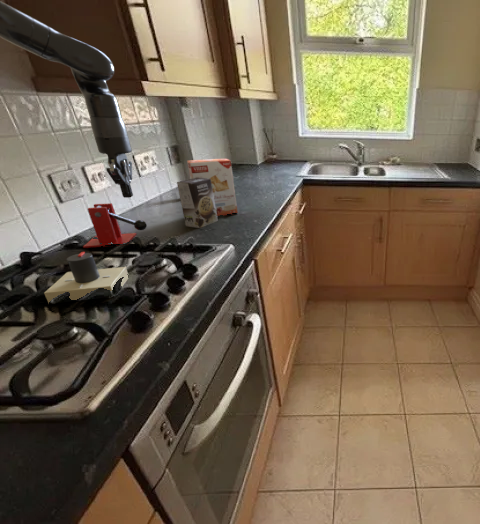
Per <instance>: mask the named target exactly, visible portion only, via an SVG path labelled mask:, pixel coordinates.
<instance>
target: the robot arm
mask: <svg viewBox="0 0 480 524" xmlns="http://www.w3.org/2000/svg"><path fill="white" fill-rule="evenodd" d="M0 38H1V39H3V40H4V41H7V42H8V43H11V44H12V45H14V46H16V47H19V48H21V49H23V50H25V51H27V52H29V53H32V54H33V55H35V56H37V57H40V58H42V59H45V60H47V61H49V62H54V63H59V64H62V65H64V66H67V67H69V68H70V70H71V73H72V76H73V78H74V80H75V83H76V84H77V86H78V87H77V88H79V90H80V92H81V94H82V96H83V99H84V102H85V106H86V109H87V113H88V116H89V120H90V126H91V130H92V133H93V137H94V140H95V143H96V147H97V150H98V153H100V154H102V155H107V164H108V167H106V173H107V174H108V175H109V177H110V179H111V180H112V181H113V182H114V185H118V186H119V188H120V192H121V194H122V197H123V198H125V199H127V198H129V199H130V198H132V197H133V196H134V193H133V190H132V184H131V183H132V181H133V163H132V162H133V161H130V160H129V159H128V157H127V155H126V154H129V153H130V154H131V152H132V146H131V143H130V139H129V134H128V131H127V126H126V124H125V122H124V119H123V116H122V112H121V108H120V104H119V101H118V98H117V97H116V96H115V94H113V93H112V92H111V91H110V88H109V86H108V84H107V81H109V80H111V79H112V78H113V77H114V75H115V66H114V63H113V61H112V60H111V59H110V57H108V56H107V54H106V53H104V52H103V51H101V50H99V49H98V48H96V47H94V46H92V45H90V44H88V43H86V42H83V41H81V40H78V39H77V38H74V37H71V36H68V35H66V34H64V33H61V32H60V31H57V30H56V29H55V28H52V27H51V26H49V25H47V24H46V23H43V22H42V21H40V20H38V19H37V18H34V17H32V16H30V15H28V14H27V13H24V12H22V11H21V10H18V9H17V8H15V7H13V6H11V5H9V4H7V3H5V2H3V1H1V0H0Z"/></svg>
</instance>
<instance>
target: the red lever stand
mask: <svg viewBox="0 0 480 524" xmlns="http://www.w3.org/2000/svg"><path fill="white" fill-rule="evenodd" d="M97 206H102V207H97ZM107 208H108V209H110V211H109V212H110V213H113V214H116V212H115V209H114V205H113V203H109V202H108V203H94V204H93V207H87V212H88V215H89V217H90V220H91V223H92V226H93V228H94V233H95V236H94V237H97V238H98V239H93V238H91V239H90V240H89V241H88V242H86V243H85V244H84V245H83V246H82V248H83V249H88V248H101V246H103V247H106V246H105V245H111V244H108V243H111V242H112V243H113V244H123V243H127V242H129V241H130V240H131V241H132V240H133V239H134V238H135V237H136V236H137V234H138V233H137V232H132V233H131V232H130V233H122V231H121V227H120V224H119V220H117V219H114V218H112V217H110V216H109V213H108V209H107ZM131 241H130V242H131ZM130 242H129V243H130ZM100 243H102V244H100Z"/></svg>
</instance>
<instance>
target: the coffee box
mask: <svg viewBox="0 0 480 524" xmlns="http://www.w3.org/2000/svg"><path fill="white" fill-rule="evenodd" d="M176 184H177V189H178V190H177V191H178V194H179V200H180V204H181V209H182V215H183V218H184V224H185V227H190V228H197V229H201V228H203V227H206V226H209V225H211V224H214V223H216V222H218V221H219V220H218V216H217V212H216V207H215V201H214V195H213V189H212V183H211V179H207V178H194V179H191V178H189V179H185V180H179V181H177V182H176Z"/></svg>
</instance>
